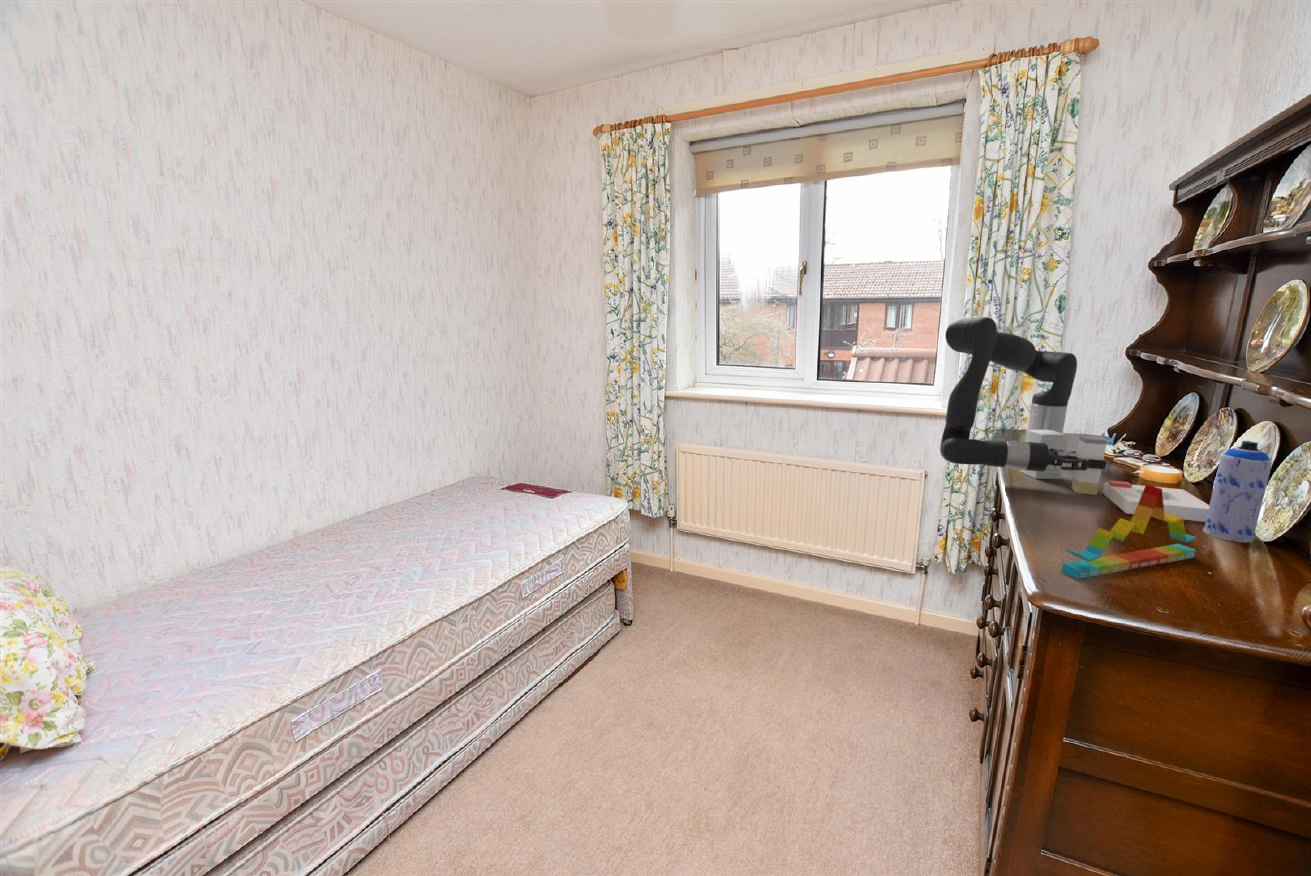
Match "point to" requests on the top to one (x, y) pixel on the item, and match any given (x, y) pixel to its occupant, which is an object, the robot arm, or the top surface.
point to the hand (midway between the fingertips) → (1101, 462)
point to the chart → (1145, 509)
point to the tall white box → (1089, 478)
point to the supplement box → (1053, 441)
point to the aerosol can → (1238, 493)
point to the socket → (1173, 500)
